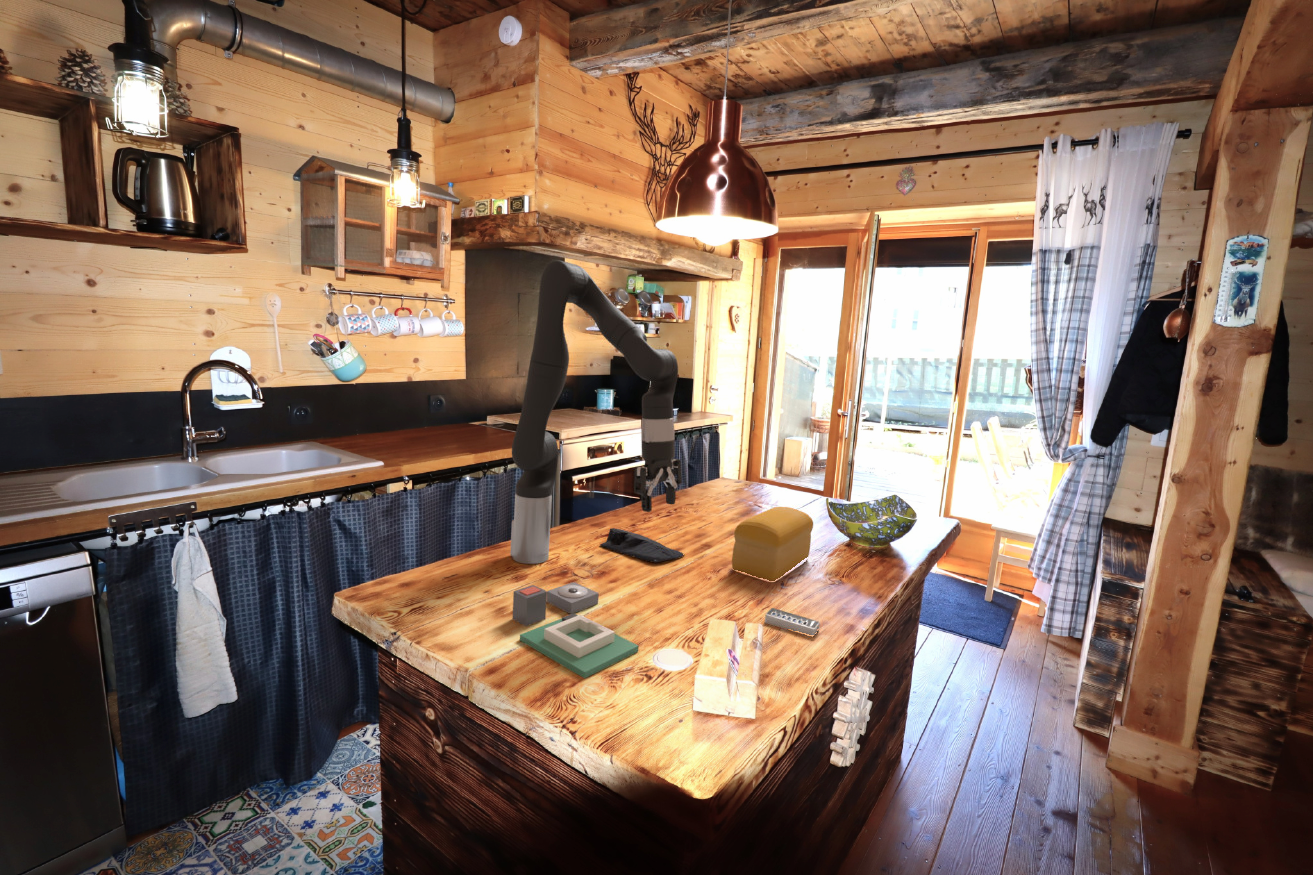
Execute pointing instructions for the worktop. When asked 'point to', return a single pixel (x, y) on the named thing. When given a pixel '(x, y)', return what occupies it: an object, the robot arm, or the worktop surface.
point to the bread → (772, 542)
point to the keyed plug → (529, 605)
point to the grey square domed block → (572, 597)
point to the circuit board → (579, 644)
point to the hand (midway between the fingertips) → (659, 507)
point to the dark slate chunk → (639, 546)
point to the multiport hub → (791, 621)
